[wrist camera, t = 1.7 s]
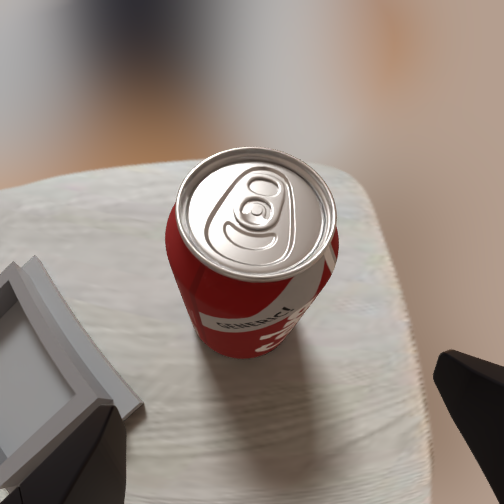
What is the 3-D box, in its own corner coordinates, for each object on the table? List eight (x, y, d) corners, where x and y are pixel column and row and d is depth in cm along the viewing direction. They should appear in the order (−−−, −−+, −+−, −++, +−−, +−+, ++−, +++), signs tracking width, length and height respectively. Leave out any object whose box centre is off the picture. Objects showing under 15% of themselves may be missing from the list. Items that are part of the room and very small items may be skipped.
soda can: (177, 343, 20) (123, 264, 9) (208, 254, 23) (198, 122, 12) (279, 372, 20) (341, 323, 9) (300, 279, 23) (358, 161, 12)
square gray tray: (144, 402, 18) (127, 401, 15) (25, 503, 12) (-1, 511, 9) (40, 260, 22) (19, 239, 19) (-53, 360, 16) (-79, 349, 13)
